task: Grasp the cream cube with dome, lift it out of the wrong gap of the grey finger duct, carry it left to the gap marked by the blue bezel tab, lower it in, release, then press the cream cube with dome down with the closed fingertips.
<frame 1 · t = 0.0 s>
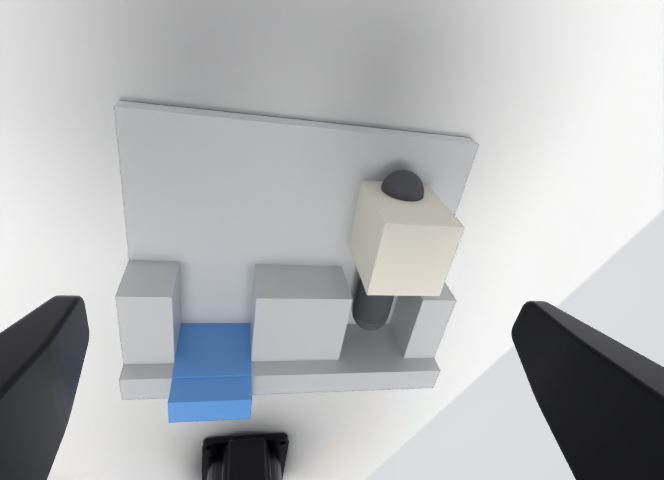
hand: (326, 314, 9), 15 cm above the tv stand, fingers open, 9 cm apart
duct: (274, 307, 28), on the tv stand
cream cube with dome: (379, 246, 25), point 1 cm above the tv stand, touching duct
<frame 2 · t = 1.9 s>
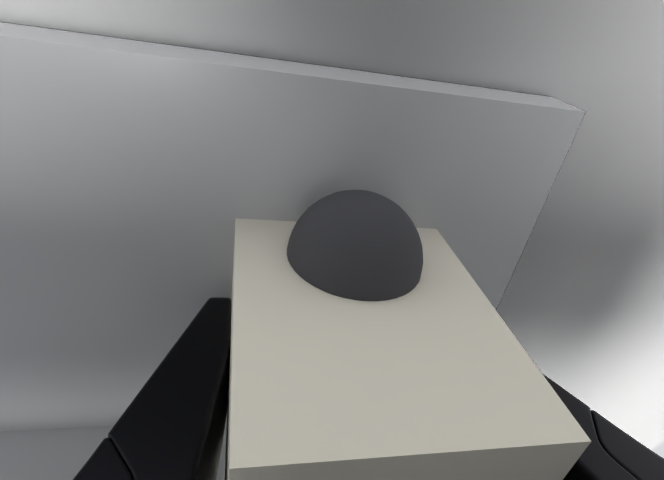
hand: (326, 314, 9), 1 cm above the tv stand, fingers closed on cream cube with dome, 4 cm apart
cream cube with dome: (312, 374, 10), point 1 cm above the tv stand, touching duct, gripper
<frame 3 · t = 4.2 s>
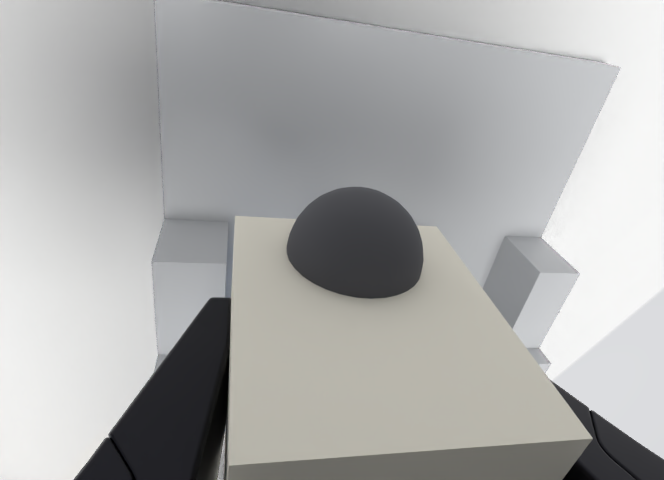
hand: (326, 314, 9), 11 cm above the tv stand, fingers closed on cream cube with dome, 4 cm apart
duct: (337, 285, 22), on the tv stand
cream cube with dome: (312, 372, 10), point 10 cm above the tv stand, touching gripper
when the fingers open (2 cm above the tv stand, at t = 6.0 s): cream cube with dome stays where it is, resting on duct.
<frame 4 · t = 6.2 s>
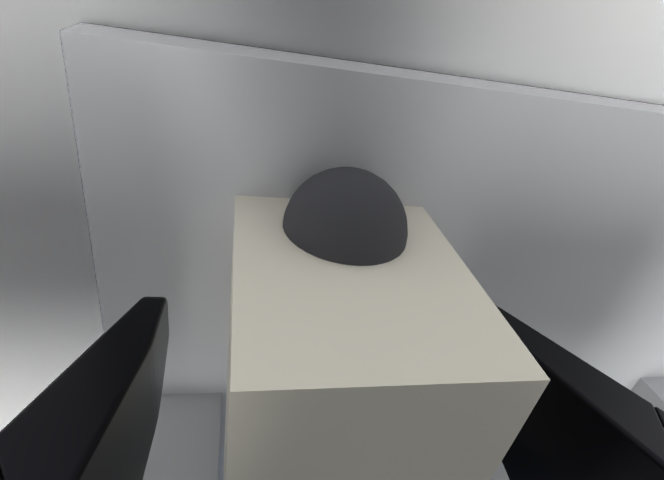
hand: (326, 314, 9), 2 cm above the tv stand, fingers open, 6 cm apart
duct: (383, 440, 15), on the tv stand
cream cube with dome: (307, 347, 11), point 1 cm above the tv stand, touching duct
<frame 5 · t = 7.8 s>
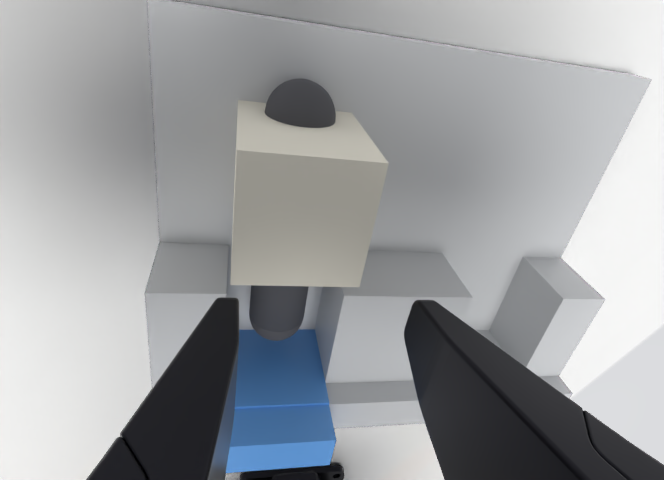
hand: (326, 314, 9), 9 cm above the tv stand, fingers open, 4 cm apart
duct: (343, 308, 21), on the tv stand
cream cube with dome: (284, 212, 16), point 1 cm above the tv stand, touching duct
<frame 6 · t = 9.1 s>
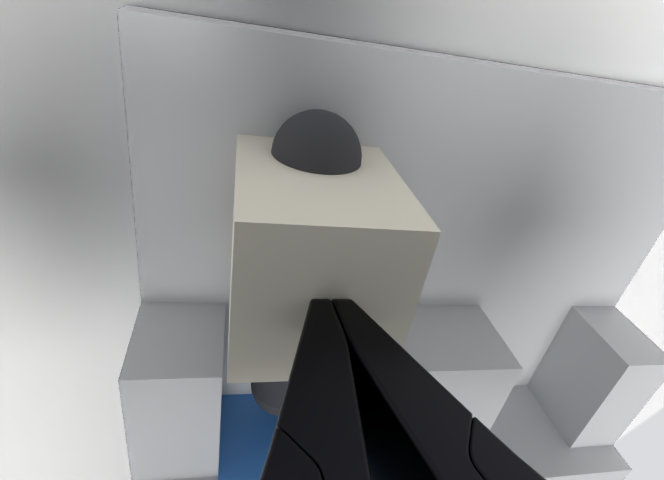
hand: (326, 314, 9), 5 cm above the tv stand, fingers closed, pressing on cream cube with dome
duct: (360, 363, 18), on the tv stand
cream cube with dome: (293, 264, 14), point 1 cm above the tv stand, touching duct, gripper
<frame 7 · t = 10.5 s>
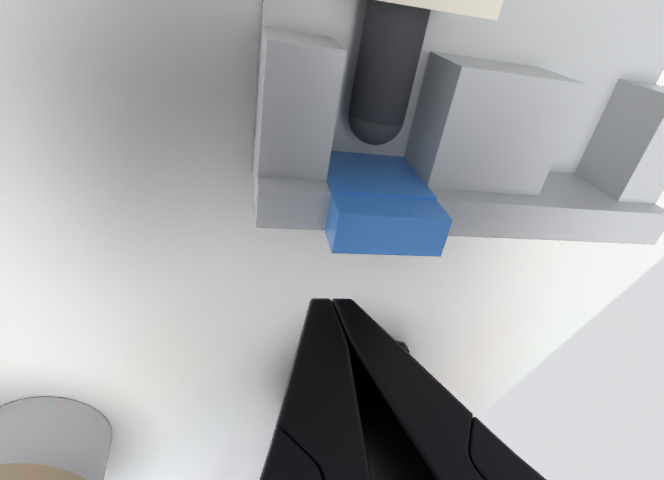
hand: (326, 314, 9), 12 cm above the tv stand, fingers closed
coffee cup: (51, 430, 26), on the tv stand
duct: (429, 143, 20), on the tv stand
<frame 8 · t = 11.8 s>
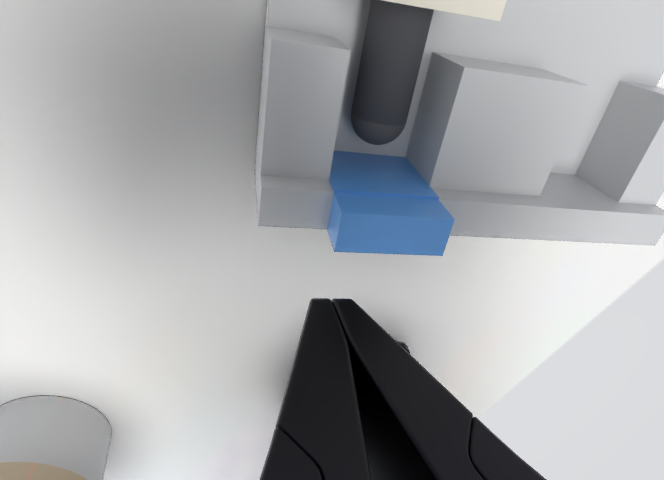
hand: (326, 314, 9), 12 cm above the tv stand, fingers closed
coffee cup: (50, 430, 26), on the tv stand
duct: (430, 143, 20), on the tv stand
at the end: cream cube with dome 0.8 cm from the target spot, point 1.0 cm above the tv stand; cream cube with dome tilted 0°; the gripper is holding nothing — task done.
